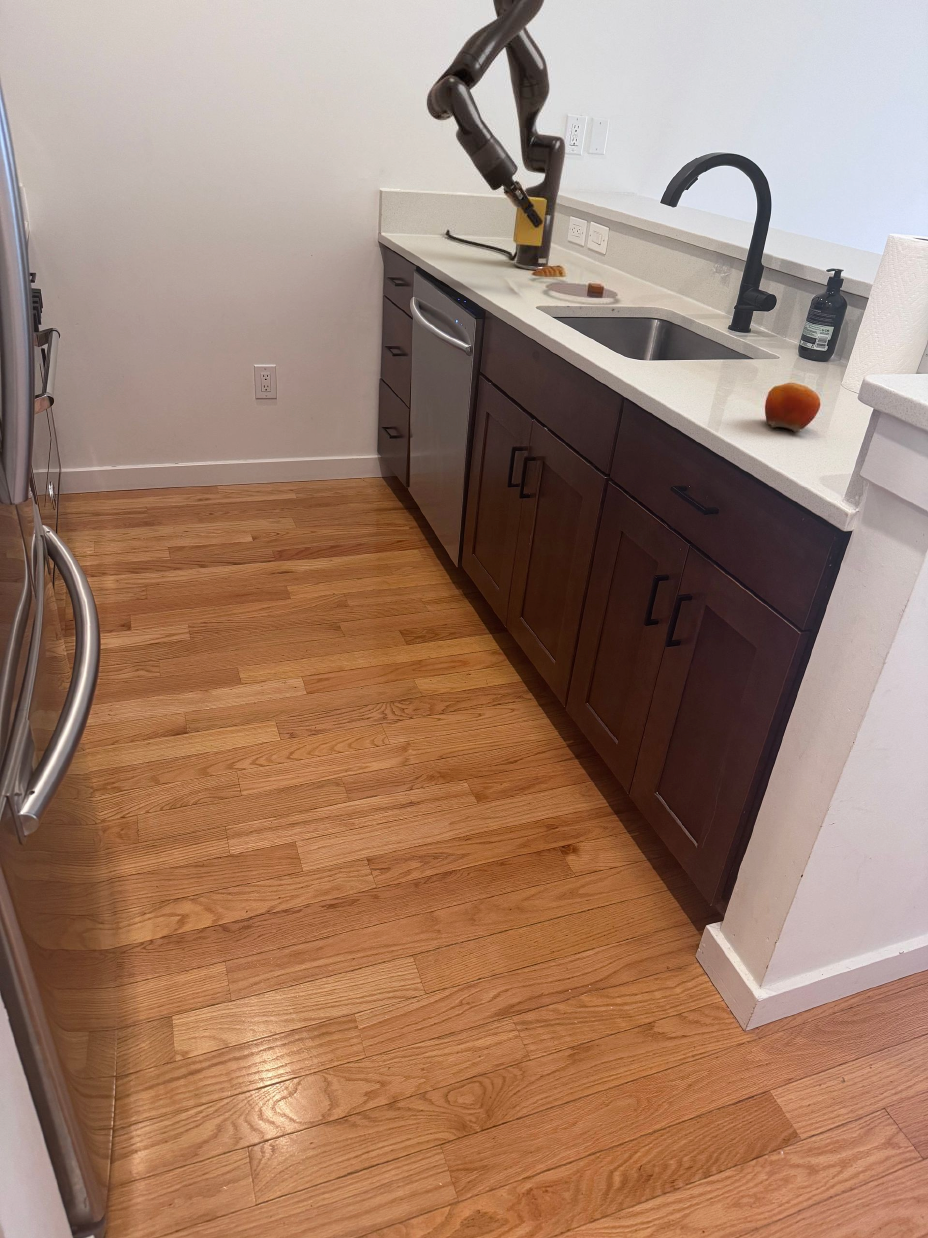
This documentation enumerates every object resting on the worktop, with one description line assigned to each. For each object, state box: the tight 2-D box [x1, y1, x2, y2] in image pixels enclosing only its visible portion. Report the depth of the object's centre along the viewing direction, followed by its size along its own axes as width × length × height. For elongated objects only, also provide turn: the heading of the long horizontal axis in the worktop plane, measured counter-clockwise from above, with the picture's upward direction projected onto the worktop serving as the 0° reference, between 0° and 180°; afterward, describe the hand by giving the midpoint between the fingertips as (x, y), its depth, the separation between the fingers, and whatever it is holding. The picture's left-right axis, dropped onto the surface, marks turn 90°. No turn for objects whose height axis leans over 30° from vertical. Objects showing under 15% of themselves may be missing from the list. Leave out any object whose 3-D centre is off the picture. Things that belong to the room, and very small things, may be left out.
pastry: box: [532, 264, 567, 278], centre depth 233 cm, size 9×7×4 cm
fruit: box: [764, 382, 821, 436], centre depth 136 cm, size 8×8×8 cm
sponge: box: [513, 197, 547, 246], centre depth 209 cm, size 4×6×10 cm
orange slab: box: [587, 282, 605, 293], centre depth 218 cm, size 4×3×2 cm
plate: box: [545, 282, 619, 299], centre depth 218 cm, size 18×18×2 cm
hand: (537, 223), depth 209 cm, fingers closed on sponge, 4 cm apart
